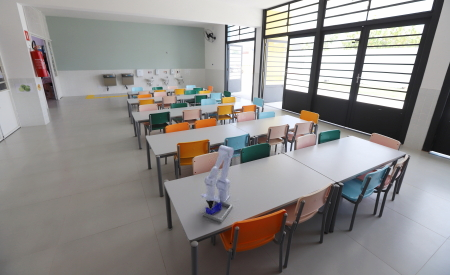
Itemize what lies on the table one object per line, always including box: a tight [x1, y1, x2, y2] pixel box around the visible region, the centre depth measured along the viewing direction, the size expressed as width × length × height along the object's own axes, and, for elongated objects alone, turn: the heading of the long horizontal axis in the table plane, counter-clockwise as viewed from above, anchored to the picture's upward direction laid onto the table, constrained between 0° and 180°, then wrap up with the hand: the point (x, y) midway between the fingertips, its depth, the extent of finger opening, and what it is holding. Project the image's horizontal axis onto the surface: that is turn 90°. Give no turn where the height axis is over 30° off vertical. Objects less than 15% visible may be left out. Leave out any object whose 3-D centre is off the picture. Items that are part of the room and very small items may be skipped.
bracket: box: [202, 201, 233, 223], centre depth 161 cm, size 18×14×2 cm
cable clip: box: [205, 202, 222, 215], centre depth 161 cm, size 12×4×6 cm, turn 130°
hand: (210, 207), depth 164 cm, fingers closed
